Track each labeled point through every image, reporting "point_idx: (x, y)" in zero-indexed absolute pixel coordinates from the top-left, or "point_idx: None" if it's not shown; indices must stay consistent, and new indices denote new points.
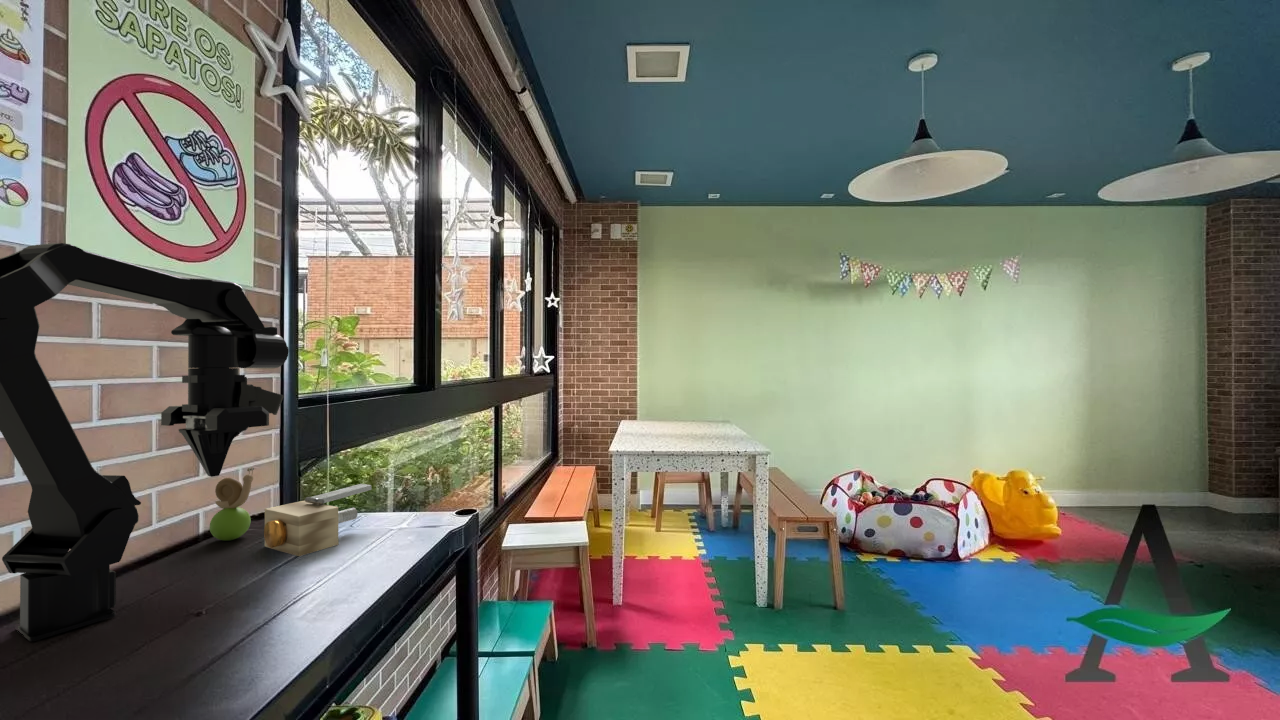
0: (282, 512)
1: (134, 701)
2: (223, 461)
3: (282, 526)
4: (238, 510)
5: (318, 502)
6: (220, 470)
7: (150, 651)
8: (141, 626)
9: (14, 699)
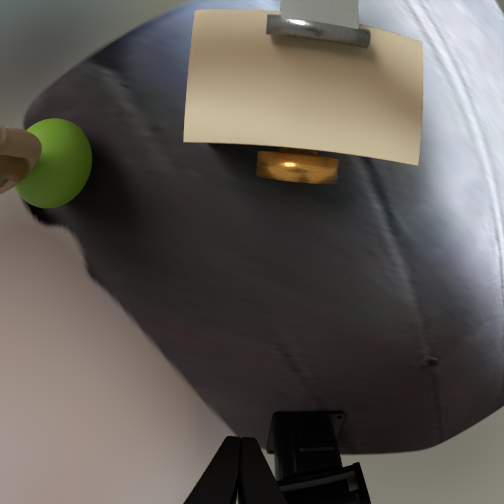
0: (312, 146)
1: (490, 411)
2: (279, 491)
3: (335, 165)
4: (46, 155)
5: (366, 47)
6: (261, 454)
7: (452, 401)
8: (397, 400)
9: (419, 450)
